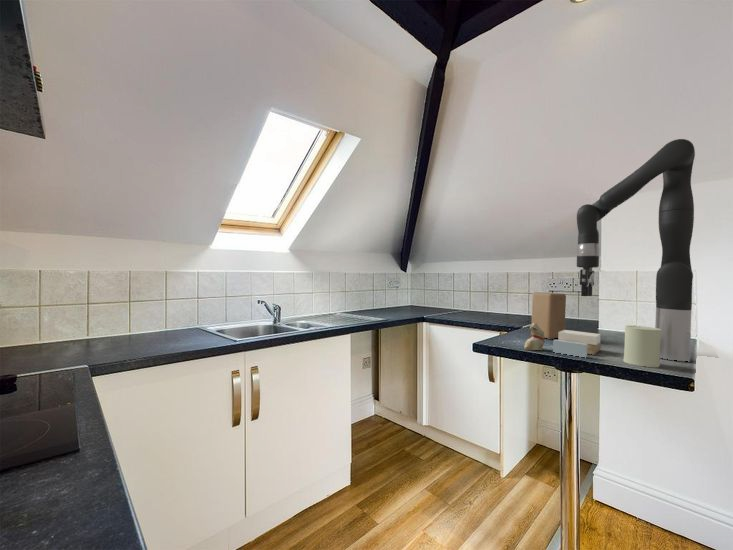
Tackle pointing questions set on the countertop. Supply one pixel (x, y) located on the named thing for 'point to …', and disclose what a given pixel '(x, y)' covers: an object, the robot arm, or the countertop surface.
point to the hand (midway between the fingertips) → (586, 296)
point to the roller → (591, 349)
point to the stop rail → (570, 348)
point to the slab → (579, 337)
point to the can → (642, 346)
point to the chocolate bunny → (535, 339)
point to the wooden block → (549, 313)
